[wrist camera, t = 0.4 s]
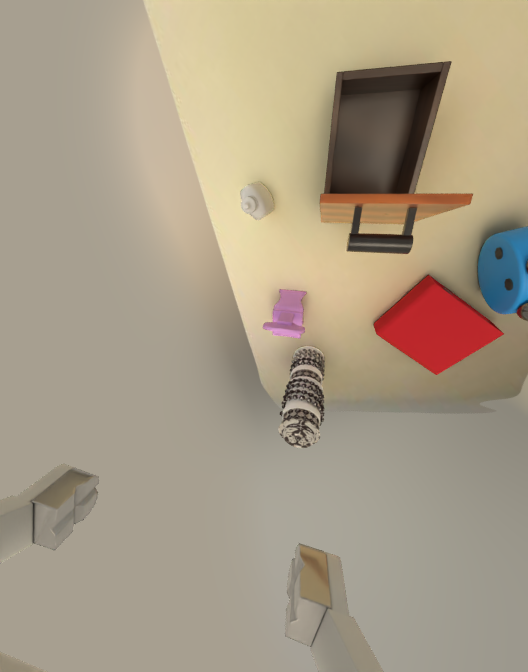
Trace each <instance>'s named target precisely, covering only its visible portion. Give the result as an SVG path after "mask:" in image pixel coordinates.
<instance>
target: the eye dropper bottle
mask: <svg viewBox="0 0 528 672" xmlns="http://www.w3.org/2000/svg"><path fill="white" fill-rule="evenodd" d="M241 199H242V202H241V207H242V210H243V211H244V212H245V213H247V214H250V215H251V216H252V217H253V218H254V219H256V220H260V219H262V218H263V217H265V216H266V215H268V214H269V213H270V212H272V211H273V210H274V202H273V199H272V196H271V194H270V192H269V191H268V189H267V188H266V187H265V186H264V185H263V184H262V183H260V182H256V183H252V184H248V185H247V186H245V187H244V188H243V189H242V190H241Z"/></svg>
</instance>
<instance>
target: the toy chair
mask: <svg viewBox="0 0 528 672" xmlns="http://www.w3.org/2000/svg"><path fill="white" fill-rule="evenodd" d="M279 291H280V295H281V298H280V300H279V301H278V302H277V303H276V304H275V306H274V309H273V322H267V323H264V325H263V328H264V329H266V330H271V331H273V335H278V336H287V337H294V338H301V334H302V333H304V332H305V328H304V327H302V324H303V321H302V319H303V306H302V303H301V300H302V298H303V297H304V295H305V294H306V292H304V291H293V290H282V289H280V290H279Z"/></svg>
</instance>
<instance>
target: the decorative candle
mask: <svg viewBox="0 0 528 672" xmlns="http://www.w3.org/2000/svg"><path fill="white" fill-rule="evenodd" d="M292 363H293V364H292V365H291V369H290V381H289V382H288V385H287V386H286V387H287V389H286V390H285V395H284V396H283V399H284V400H283V402H282V405H283V406H282V408H283V409H284V410H283V411H281V412H280V415H281V416H282V423H281V425H280V426H279V433H280V435H281V436H282V438H284V439H285V441H286V442H287V443H288V444H290V445H291V446H294V447H298V448H307V447H309V446H311V445H312V444H314V443H316V442H317V441H318V440H319V439H320V432H319V426H321V422H323V421H324V418H323V416H324V412H323V411H324V406H323V403H324V400H323V398H324V395H323V388H322V386H321V385H322V381H323V380H324V378H323V377H324V367H325V365H324V363H325V361H324V355H323V353H322V352H321V351H320V350H319V349H318V348H315V347H313V346H303V347H300V348H298V349H297V350H296V351H295V353H294V355H293V360H292ZM286 397H287V398H286ZM285 405H286V406H285Z"/></svg>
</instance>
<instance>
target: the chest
mask: <svg viewBox="0 0 528 672" xmlns="http://www.w3.org/2000/svg"><path fill="white" fill-rule="evenodd" d="M450 65H451V61H449V62H444V63H443V62H438V63H428V64H417V65H406V66H396V67H385V68H375V69H364V70H354V71H344V72H337V76H336V86H335V95H334V105H333V114H332V124H331V134H330V143H329V153H328V162H327V172H326V182H325V191H324V194H414V192H415V189H416V185H417V182H418V178H419V174H420V171H421V167H422V164H423V160H424V157H425V153H426V150H427V146H428V143H429V139H430V136H431V132H432V129H433V125H434V121H435V118H436V114H437V111H438V107H439V104H440V100H441V97H442V93H443V90H444V86H445V83H446V79H447V76H448V72H449V69H450Z"/></svg>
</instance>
